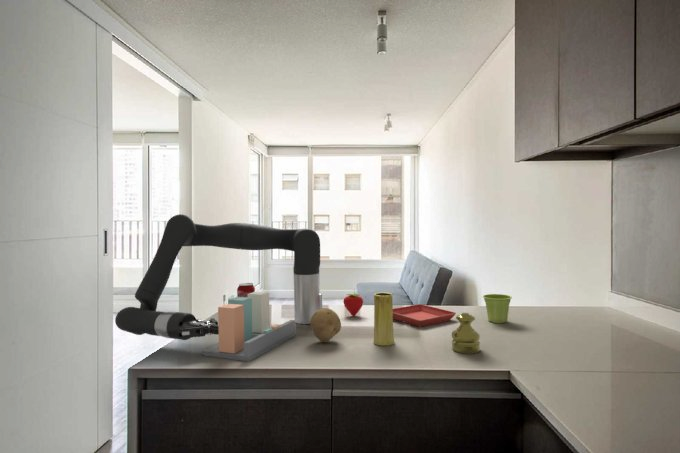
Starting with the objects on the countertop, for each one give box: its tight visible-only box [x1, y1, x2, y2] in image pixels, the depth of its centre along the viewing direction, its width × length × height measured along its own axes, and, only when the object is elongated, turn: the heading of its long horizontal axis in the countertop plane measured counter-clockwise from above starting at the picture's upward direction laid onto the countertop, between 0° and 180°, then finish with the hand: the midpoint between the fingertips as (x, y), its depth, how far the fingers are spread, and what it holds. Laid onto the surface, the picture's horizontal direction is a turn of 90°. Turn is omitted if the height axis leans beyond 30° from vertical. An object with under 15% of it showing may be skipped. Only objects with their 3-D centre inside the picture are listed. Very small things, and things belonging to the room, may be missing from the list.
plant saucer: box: [393, 303, 457, 328], centre depth 144 cm, size 18×18×3 cm
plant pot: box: [482, 293, 513, 324], centre depth 139 cm, size 9×9×9 cm
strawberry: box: [342, 290, 364, 317], centre depth 152 cm, size 6×8×10 cm
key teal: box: [227, 296, 252, 341], centre depth 120 cm, size 5×4×12 cm
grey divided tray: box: [202, 319, 296, 362], centre depth 118 cm, size 15×25×6 cm, turn 158°
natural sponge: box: [309, 307, 342, 343], centre depth 120 cm, size 9×9×10 cm
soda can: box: [236, 282, 256, 297], centre depth 157 cm, size 7×7×12 cm
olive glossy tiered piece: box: [451, 312, 481, 355], centre depth 110 cm, size 7×7×10 cm
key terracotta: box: [217, 303, 245, 354], centre depth 109 cm, size 5×4×12 cm
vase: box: [373, 292, 395, 347], centre depth 117 cm, size 6×6×14 cm
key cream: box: [248, 291, 271, 333], centre depth 128 cm, size 5×4×12 cm
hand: (224, 330), depth 110 cm, fingers closed
